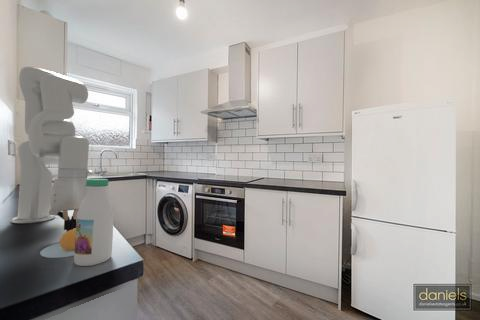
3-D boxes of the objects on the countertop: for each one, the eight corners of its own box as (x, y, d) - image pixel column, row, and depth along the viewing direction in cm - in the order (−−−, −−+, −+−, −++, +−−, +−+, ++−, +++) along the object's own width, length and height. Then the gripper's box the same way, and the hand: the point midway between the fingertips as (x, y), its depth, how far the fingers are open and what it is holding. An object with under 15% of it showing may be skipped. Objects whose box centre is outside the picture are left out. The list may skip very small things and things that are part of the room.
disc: (41, 245, 60) (41, 245, 60) (96, 236, 69) (96, 236, 69) (39, 262, 50) (39, 261, 50) (103, 249, 59) (103, 249, 59)
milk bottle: (107, 251, 58) (111, 177, 59) (115, 260, 53) (119, 179, 53) (71, 258, 53) (76, 178, 53) (76, 270, 47) (81, 180, 48)
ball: (58, 253, 57) (59, 232, 59) (84, 248, 61) (84, 229, 63) (60, 251, 54) (60, 229, 55) (86, 246, 57) (86, 226, 59)
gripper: (98, 173, 77) (95, 225, 76) (41, 173, 67) (38, 232, 66) (102, 175, 71) (99, 230, 71) (41, 175, 61) (37, 239, 61)
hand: (69, 231), depth 69 cm, fingers closed
